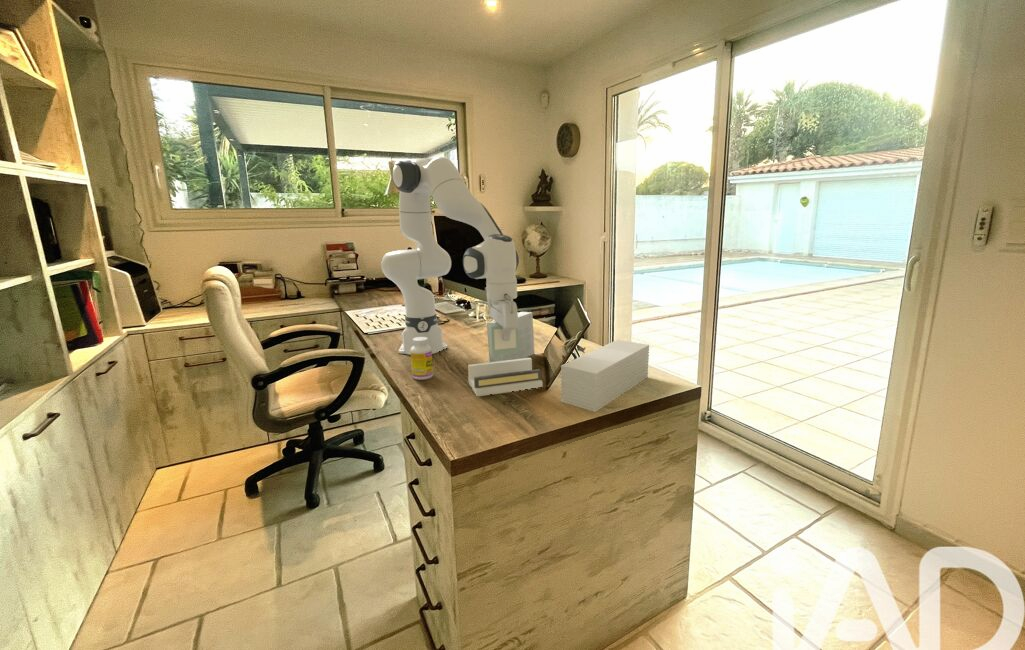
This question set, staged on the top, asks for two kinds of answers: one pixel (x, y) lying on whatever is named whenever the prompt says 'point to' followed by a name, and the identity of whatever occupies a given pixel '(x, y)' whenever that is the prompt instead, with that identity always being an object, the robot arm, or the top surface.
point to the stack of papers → (604, 374)
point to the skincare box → (520, 339)
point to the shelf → (503, 376)
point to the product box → (501, 341)
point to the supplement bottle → (421, 359)
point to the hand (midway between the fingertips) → (503, 338)
